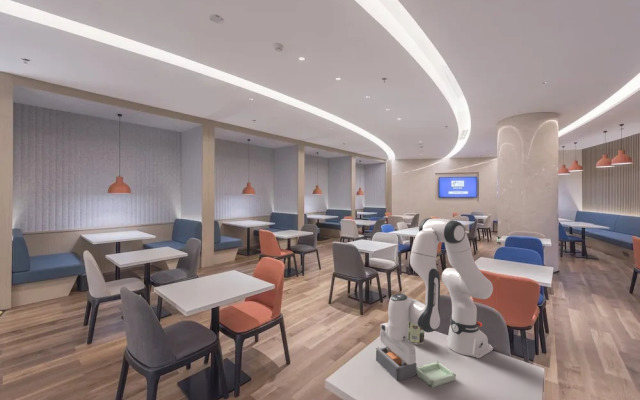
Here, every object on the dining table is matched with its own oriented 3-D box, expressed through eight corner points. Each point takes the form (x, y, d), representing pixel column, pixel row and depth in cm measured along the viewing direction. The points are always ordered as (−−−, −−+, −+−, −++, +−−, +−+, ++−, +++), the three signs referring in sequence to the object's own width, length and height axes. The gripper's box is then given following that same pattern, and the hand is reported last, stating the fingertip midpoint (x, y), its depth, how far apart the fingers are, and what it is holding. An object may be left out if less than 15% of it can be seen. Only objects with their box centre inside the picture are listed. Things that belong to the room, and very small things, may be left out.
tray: (437, 366, 124) (437, 361, 124) (455, 380, 115) (455, 374, 115) (414, 373, 119) (415, 367, 119) (431, 387, 110) (432, 381, 110)
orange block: (400, 362, 126) (400, 349, 126) (407, 368, 122) (407, 355, 122) (385, 366, 123) (386, 353, 123) (391, 372, 119) (392, 358, 119)
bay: (393, 355, 131) (394, 343, 131) (416, 375, 118) (416, 361, 117) (375, 360, 127) (376, 347, 127) (396, 380, 114) (397, 367, 113)
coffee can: (417, 334, 153) (418, 308, 153) (428, 344, 143) (429, 317, 143) (400, 335, 151) (401, 309, 151) (409, 345, 141) (410, 318, 141)
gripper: (420, 342, 114) (418, 375, 114) (389, 320, 133) (388, 349, 133) (408, 345, 112) (406, 378, 112) (378, 322, 130) (377, 351, 131)
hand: (396, 362), depth 123 cm, fingers open, 7 cm apart
